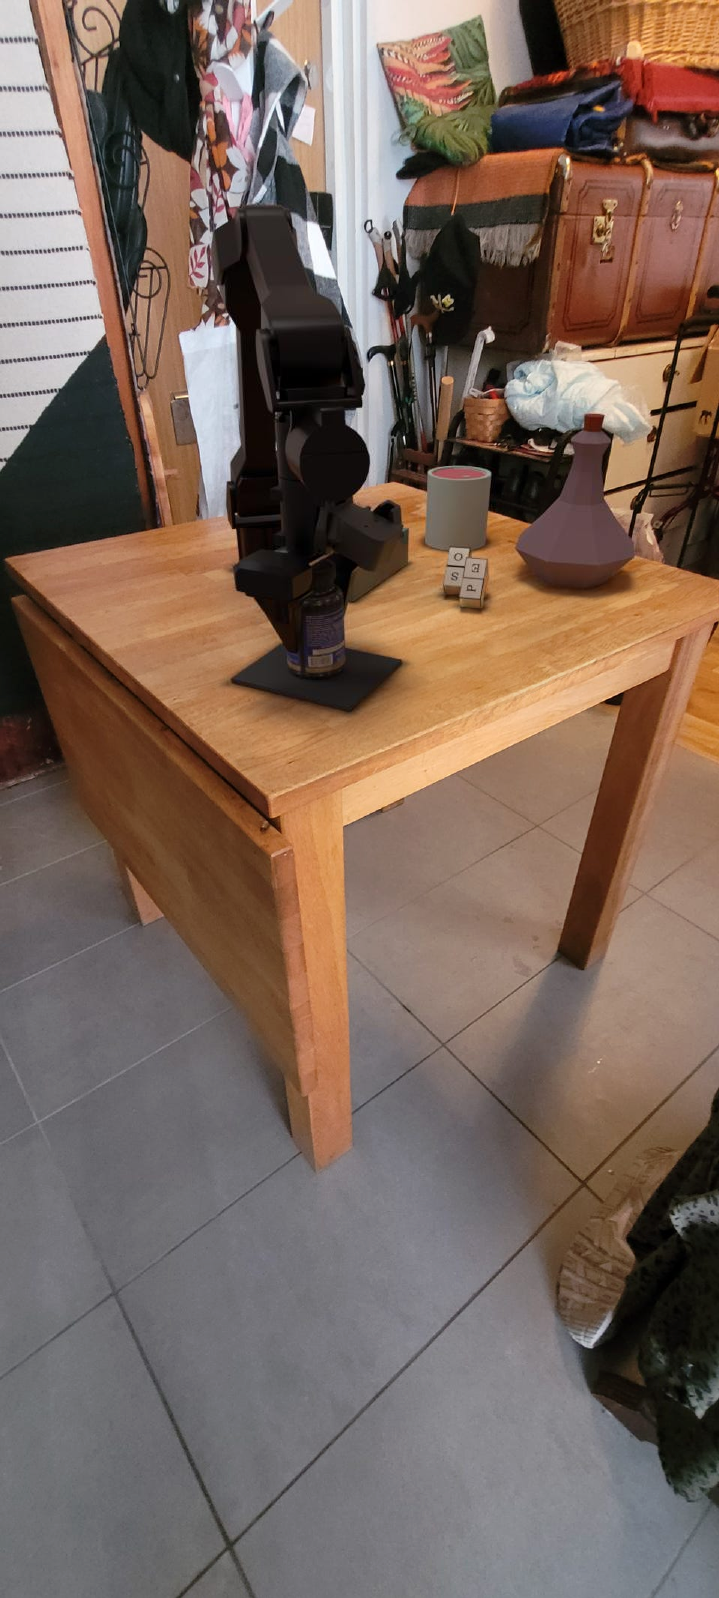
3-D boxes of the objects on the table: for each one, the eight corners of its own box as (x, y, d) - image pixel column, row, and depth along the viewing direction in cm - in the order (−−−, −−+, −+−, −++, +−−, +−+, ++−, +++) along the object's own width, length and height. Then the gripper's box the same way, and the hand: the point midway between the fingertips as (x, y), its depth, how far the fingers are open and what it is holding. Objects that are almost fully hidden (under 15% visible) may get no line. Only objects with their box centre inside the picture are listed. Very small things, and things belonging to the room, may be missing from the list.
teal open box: (276, 588, 102) (273, 550, 99) (337, 552, 114) (336, 517, 111) (353, 602, 98) (352, 563, 95) (408, 563, 110) (409, 527, 107)
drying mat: (231, 682, 79) (230, 678, 79) (291, 640, 88) (291, 636, 88) (350, 711, 74) (350, 707, 74) (402, 663, 83) (402, 659, 82)
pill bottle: (353, 660, 82) (352, 558, 76) (333, 684, 78) (330, 577, 71) (300, 652, 84) (295, 552, 78) (277, 676, 79) (269, 571, 73)
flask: (487, 581, 103) (501, 418, 92) (542, 550, 114) (561, 400, 102) (603, 608, 95) (634, 432, 84) (651, 572, 106) (685, 411, 94)
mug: (488, 550, 114) (495, 479, 108) (426, 550, 114) (429, 480, 109) (478, 524, 125) (483, 459, 120) (421, 524, 125) (424, 459, 120)
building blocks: (482, 617, 98) (492, 559, 99) (481, 599, 93) (491, 538, 94) (441, 613, 99) (451, 556, 100) (437, 595, 94) (448, 535, 95)
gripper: (337, 509, 60) (342, 689, 69) (431, 462, 73) (425, 617, 82) (221, 494, 64) (239, 665, 73) (330, 452, 78) (334, 600, 87)
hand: (316, 635), depth 79 cm, fingers open, 9 cm apart
